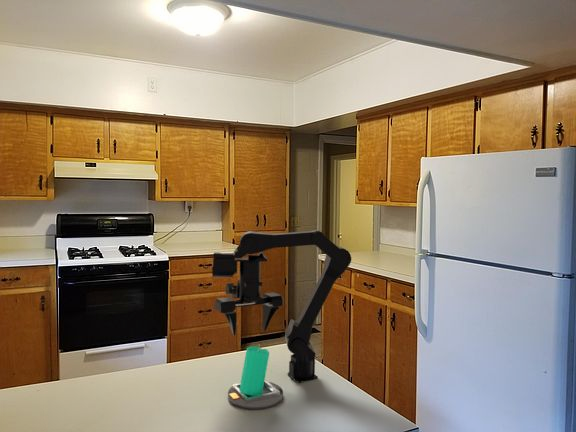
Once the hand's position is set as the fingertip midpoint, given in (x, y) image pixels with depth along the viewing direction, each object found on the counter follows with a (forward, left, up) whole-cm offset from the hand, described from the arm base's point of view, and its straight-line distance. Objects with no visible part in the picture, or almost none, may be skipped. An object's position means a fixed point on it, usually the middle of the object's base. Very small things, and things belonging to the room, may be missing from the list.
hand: (249, 332), depth 124 cm
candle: (+4, +11, -12) cm, 16 cm away
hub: (+3, +11, -13) cm, 17 cm away
